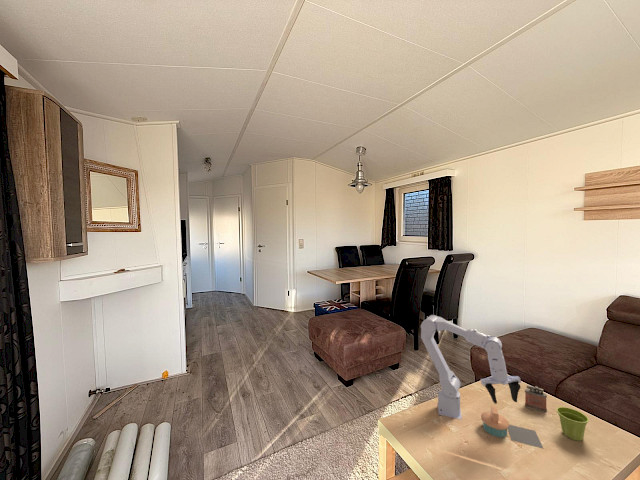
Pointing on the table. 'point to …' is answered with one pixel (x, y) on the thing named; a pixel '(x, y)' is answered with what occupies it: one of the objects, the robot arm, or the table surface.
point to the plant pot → (572, 423)
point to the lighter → (535, 398)
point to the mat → (524, 436)
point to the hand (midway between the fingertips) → (504, 401)
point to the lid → (494, 419)
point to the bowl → (495, 431)
